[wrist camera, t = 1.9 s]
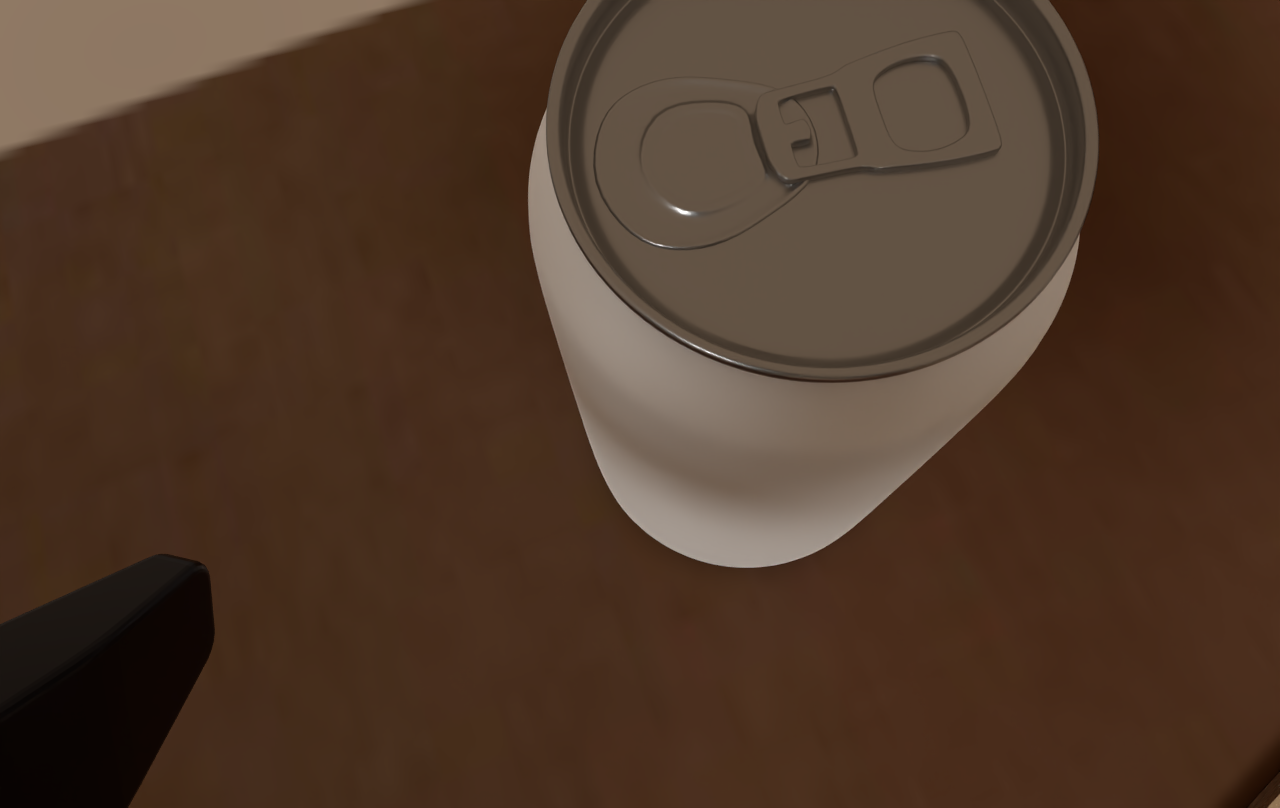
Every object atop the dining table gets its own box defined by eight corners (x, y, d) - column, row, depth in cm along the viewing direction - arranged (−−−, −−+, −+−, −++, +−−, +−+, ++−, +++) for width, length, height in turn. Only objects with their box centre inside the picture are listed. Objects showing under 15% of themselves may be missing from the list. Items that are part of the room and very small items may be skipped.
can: (559, 315, 23) (447, -73, 11) (843, 247, 23) (1017, -201, 12) (629, 606, 21) (582, 498, 10) (935, 528, 21) (1249, 333, 10)
